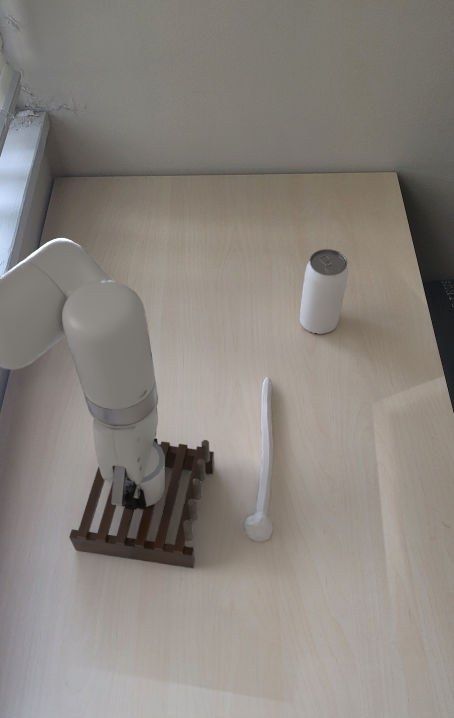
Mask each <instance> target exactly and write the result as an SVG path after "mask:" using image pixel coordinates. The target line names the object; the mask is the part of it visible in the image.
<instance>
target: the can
mask: <svg viewBox="0 0 454 718" xmlns="http://www.w3.org/2000/svg"><path fill="white" fill-rule="evenodd" d="M348 276H349V267H348V260H347V257H346V256H345V255H344V253H342V252H340V251H338V250H336V249H331V248H324V249H323V248H322V249H318V250H316V251H315V252H313V253H312V254H311V255H310V258H309V261H308V262H307V264H306V266H305V270H304V277H303V285H302V293H301V301H300V307H299V316H298V319H299V323H300V325H301V327H302V328H303V329H304V330H306V331H307V330H308V331H307V332H308V333H311V332H312V333H311V334H315V333H317V334H316V335H324V333H325V334H327V333H330V332H332V331H333V330H335V329H336V328H337V326H338V324H339V321H340V320H339V319H340V316H341V312H342V311H341V310H342V307H343V301H344V296H345V292H346V286H347V282H348Z"/></svg>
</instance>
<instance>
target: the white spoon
mask: <svg viewBox="0 0 454 718" xmlns="http://www.w3.org/2000/svg"><path fill="white" fill-rule="evenodd" d="M272 391H273V384H272V379H271V378H270V377H268V376H267V377H265V378H264V380H263V382H262V385H261V405H260V435H261V453H260V455H261V456H260V469H259V481H258V491H257V492H258V493H257V500H256V506H255V511H254V513H253V514H251V515H249V516H248V517H246V518H245V520H244V521H243V523H242V526H243V531H244V532H245V534H246V536H247V537H248V538H249V539H250V540H252V541H255V542H264V541H268V540H270V539H271V537H272V534H273V531H274V529H273V522H272V521H271V520H270V518H269V517H268V515H269V509H270V499H271V492H272V477H273V475H272V474H273V466H274V444H273V443H274V442H273V414H272V412H273V411H272V394H273V393H272Z"/></svg>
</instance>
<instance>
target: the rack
mask: <svg viewBox="0 0 454 718" xmlns="http://www.w3.org/2000/svg"><path fill="white" fill-rule="evenodd" d="M200 444H201V446H200V445H199V446H196V448H190V447H188V444H183V443H178V446H174V445H171V443H170V442H169V441H163V440H162V441H160V443H158V445H159V446H160V447H161V448H162V450H163V453H164V455H165V469H166V468H167V469H172V470H171V475H170V480H169V483H168V487H167V491H166V495H165V500H164V504H163V508H162V512H161V516H160V520H159V523H158V528H157V531H156V536H155V541H153V540H148V535H149V531H150V527H151V523H152V519H153V515H154V511H155V507H156V503H155V504H153V505H150V506H147V507H146V509H142V514H141V517H140V521H139V525H138V529H137V532H136V537H135V538H134V537H128V536H129V531H130V529H131V525H132V520H133V517H134V513H135V510H130V509H127V508H125V507H124V506H123V507H124V508H123V511H122V515H121V518H120V522H119V525H118V529H117V532H116V535H113V534H110V530H111V526H112V523H113V520H114V517H115V516H114V515H115V512H116V508H117V505H112V504H111V500H112V489H113V481H111V482H112V483H111V486H110V490H109V493H108V496H107V499H106V502H105V506H104V509H103V513H102V516H101V519H100V523H99V525H98V526H99V527H98V529H97V532H94V531H90V530H91V527H92V523H93V522H94V521H93V520H94V517H95V514H96V511H97V508H98V505H99V501H100V497H101V496H102V495H101V494H102V492H103V488H104V484H105V482H106V480H104V479H103V478H102V475H101V472H100V468H99V465H98V466H97V469H96V472H95V476H94V479H93V483H92V484H91V485H92V486H91V489H90V492H89V495H88V498H87V501H86V505H85V507H84V510H83V514H82V517H81V521H80V524H79V527H78V529H74V528H73V529H71V530H70V534H69V535H68V536H69V540H70V542H71V544H72V546H73V548H74V550H75V551H76V552H77V551H78V552H85V553H90V554H97V555H104V556H109V557H110V556H111V557H117V558H123V559H130V560H136V561H142V562H149V563H157V564H161V565H169V566H175V567H181V568H188V569H194V568H195V567H194V566H195V563H196V559H195V549H194V547H193V546H186V542H192V541H193V540H194V535H193V533H194V532H193V526H192V524H193V523H192V521H193V522H195V521H196V520H197V519H198V507H197V502H199V501H201V500H202V498H203V497H202V496H203V495H202V482H205V481H206V479H207V475H206V474H210V475H214V471H215V452H214V451H212V450H210V441H209V440H207V439H203V440H201V443H200ZM183 471H189V472H190V475H189V479H188V483H187V488H186V492H185V495H184V496H185V497H184V501H183V506H182V510H181V513H180V514H181V515H180V519H179V523H178V527H177V531H176V536H175V541H174V543H173V544H172V543H168V542H167V538H168V535H169V534H168V533H169V530H170V525H171V521H172V517H173V513H174V509H175V505H176V499H177V496H178V491H179V487H180V483H181V478H182V474H183ZM166 542H167V543H166Z"/></svg>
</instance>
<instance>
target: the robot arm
mask: <svg viewBox="0 0 454 718" xmlns="http://www.w3.org/2000/svg"><path fill="white" fill-rule="evenodd" d="M64 337H65V339H66V342H67V345H68V347H69V351H70V355H71V357H72V360H73V364H74V368H75V371H76V374H77V377H78V381H79V383H80V387H81V390H82V393H83V396H84V399H85V403H86V406H87V410H88V412H89V415H90V416H91V417H92V419H93V422H92V427H93V428H92V433H93V434H92V436H93V445H94V449H95V454H96V460H97V464H98V466H99V468H100V472H101V475H102V478H103V479H104V480H105V482H113V489H112V500H111V504H112V505H116V507H117V506H118V507H125V508H127V509H130V510H134V511H137V510H143V509H146V500H145V496H144V492H143V490H142V489H140V482H141V481H142V480H143V478H144V474H145V471H146V468H147V464H148V460H149V457H150V453H151V449H152V446H153V442H154V441H155V442H156V443H157V444H159V441H158V438H156V437H157V431H158V430H157V429H158V424H159V414H158V413H159V412H158V411H159V410H158V405H159V394H158V387H157V381H156V373H155V367H154V361H153V354H152V345H151V340H150V333H149V326H148V320H147V312H146V309H145V306H144V302H143V301H142V299H141V297H140V295H138V293H137V292H136V291H135V290H134V289H132V288H131V287H129V286H128V285H126V284H124V283H122V282H119V281H116V280H115V279H113V277H111V276H110V275H109V274H108V273H107V272H106V271H105V270H104V269H103V267H101V265H100V264H99V263H98V262H97V261H96V260H95V258H94V257H93V255H92V254H91V253H90V252H89V251H88V250H87V249H86V248H85V247H83V246H81V245H79V244H78V243H76V242H75V241H73V240H70V239H68V238H65V237H59V238H55V239H52V240H50V241H48V242H46V243H45V244H43V245H42V246H40V247H39V248H38V249H36V250H35V251H34V252H32V253H31V254H30V255H28V256H27V257H25V258H24V259H23V260H22V261H20V262H19V263H17V264H16V265H14V266H13V267H12V268H11V269H9V270H8V271H6V272H4V273H3V274H2V275H0V368H1V369H5V370H9V371H10V370H12V371H15V370H21V369H23V368H25V367H27V366H29V365H31V364H32V363H34V362H35V361H36V360H38V359H39V358H40V357H41V356H43V355H44V354H45V353H46V352H47V351H49V350H50V349H51V348H52V347H53V346H55V345H56V344H57V343H58V342H60V341H61V340H62V338H64ZM126 480H127V481H133V486H126Z"/></svg>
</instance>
